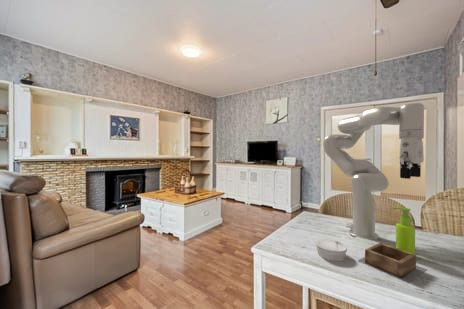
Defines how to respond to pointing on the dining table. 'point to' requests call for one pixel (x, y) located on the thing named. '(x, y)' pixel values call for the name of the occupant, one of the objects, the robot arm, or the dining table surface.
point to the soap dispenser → (405, 232)
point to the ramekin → (331, 249)
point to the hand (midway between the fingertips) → (410, 177)
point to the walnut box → (390, 260)
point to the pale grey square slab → (407, 278)
